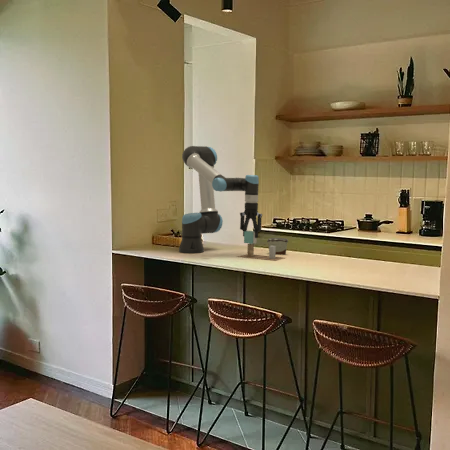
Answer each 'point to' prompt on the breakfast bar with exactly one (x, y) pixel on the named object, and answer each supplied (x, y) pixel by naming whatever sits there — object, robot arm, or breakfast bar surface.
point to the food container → (278, 245)
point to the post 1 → (250, 250)
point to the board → (261, 257)
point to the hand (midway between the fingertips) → (250, 242)
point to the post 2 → (272, 252)
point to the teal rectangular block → (248, 237)
